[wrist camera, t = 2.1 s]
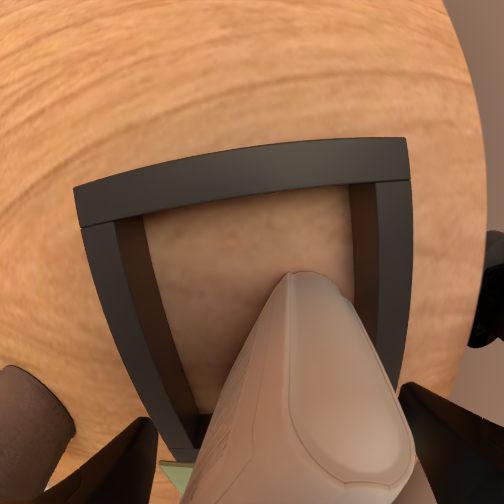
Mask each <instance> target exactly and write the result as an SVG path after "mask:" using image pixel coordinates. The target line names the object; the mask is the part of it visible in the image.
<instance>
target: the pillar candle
mask: <svg viewBox="0 0 504 504" xmlns="http://www.w3.org/2000/svg"><path fill="white" fill-rule="evenodd" d="M75 433H76V431H75V426H74V423H73V421H72V420H71V418H70V416H69V414H68V413H67V411H66V410H65V408H64V407H63V406H62V405H61V403H59V401H58V400H57V398H56V397H55V396H54V395H53V394H52V393H51V392H50V391H49V390H48V389H47V388H46V387H45V386H43V385H42V384H41V383H40V382H39V381H38V380H36V379H35V378H34V377H33V376H31V375H30V374H28V373H27V372H25V371H23V370H21V369H20V368H17V367H14V366H6V367H5V368H4V369H2V370H1V371H0V499H10V500H28V499H31V498H34V497H36V496H38V495H40V494H41V493H43V492H44V490H45V488H46V486H47V483H48V481H49V479H50V477H51V476H52V473H53V472H54V470H55V468H56V467H57V464H58V463H59V460H60V459H61V457H62V455H63V453H64V452H65V449H66V447H67V445H68V443H69V441H70V439H71V438H73V437H74V435H75Z"/></svg>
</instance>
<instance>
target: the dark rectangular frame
mask: <svg viewBox="0 0 504 504" xmlns="http://www.w3.org/2000/svg"><path fill="white" fill-rule="evenodd" d="M410 179H411V177H410V166H409V157H408V149H407V142H406V138H404V137H360V138H335V139H319V140H306V141H295V142H285V143H275V144H267V145H259V146H251V147H244V148H238V149H231V150H225V151H219V152H213V153H207V154H202V155H197V156H191V157H186V158H182V159H177V160H172V161H168V162H163V163H159V164H154V165H150V166H146V167H142V168H138V169H134V170H130V171H127V172H123V173H119V174H116V175H112V176H109V177H105V178H102V179H98V180H95V181H92V182H89V183H86V184H82V185H79V186H76V187H74V188H73V192H74V198H75V204H76V210H77V215H78V220H79V225H80V228H82V229H81V234H82V238H83V243H84V247H85V251H86V255H87V259H88V262H89V266H90V270H91V273H92V277H93V280H94V284H95V287H96V290H97V293H98V297H99V300H100V303H101V306H102V309H103V312H104V314H105V317H106V320H107V323H108V325H109V328H110V331H111V333H112V336H113V339H114V341H115V344H116V346H117V349H118V351H119V353H120V356H121V358H122V360H123V363H124V365H125V367H126V369H127V372H128V374H129V376H130V378H131V380H132V382H133V385H134V387H135V389H136V391H137V393H138V395H139V397H140V399H141V401H142V403H143V405H144V406H145V408H146V410H147V412H148V414H149V416H150V418H151V419H152V421H153V423H154V425H155V427H156V428H157V430H158V432H159V433H160V435H161V437H162V438H163V440H164V442H165V443H166V445H167V447H168V449H169V450H170V452H171V453H172V455H173V456H174V458H175V459H176V461H177V462H196V460H197V457H198V454H199V451H200V449H201V446H202V443H203V440H204V438H205V435H206V432H207V429H208V427H209V424H210V421H211V418H212V415H200V414H199V411H198V409H197V406H196V404H195V401H194V399H193V396H192V393H191V391H190V388H189V385H188V383H187V380H186V377H185V374H184V372H183V369H182V366H181V363H180V360H179V357H178V354H177V351H176V348H175V345H174V342H173V339H172V336H171V332H170V329H169V326H168V323H167V319H166V316H165V312H164V309H163V305H162V302H161V298H160V294H159V291H158V287H157V283H156V279H155V275H154V271H153V267H152V263H151V259H150V254H149V250H148V245H147V241H146V236H145V231H144V226H143V221H142V216H141V215H143V214H148V213H153V212H158V211H163V210H168V209H174V208H179V207H185V206H190V205H196V204H202V203H208V202H214V201H220V200H226V199H233V198H240V197H246V196H253V195H260V194H268V193H275V192H283V191H291V190H300V189H308V188H317V187H327V186H337V185H348V184H349V192H350V202H351V214H352V228H353V246H354V275H355V311H356V313H357V315H358V316H359V318H360V320H361V322H362V324H363V326H364V328H365V330H366V332H367V334H368V336H369V338H370V340H371V342H372V344H373V346H374V348H375V350H376V352H377V354H378V356H379V359H380V361H381V363H382V365H383V367H384V369H385V372H386V374H387V376H388V378H389V380H390V382H391V385H392V387H393V389H394V391H395V393H396V389H397V385H398V380H399V375H400V370H401V365H402V360H403V354H404V348H405V341H406V335H407V327H408V319H409V310H410V300H411V287H412V270H413V206H412V189H411V181H410Z"/></svg>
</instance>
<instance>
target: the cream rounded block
mask: <svg viewBox="0 0 504 504" xmlns="http://www.w3.org/2000/svg"><path fill="white" fill-rule="evenodd" d="M414 462H415V444H414V439H413V436H412V433H411V430H410V428H409V425H408V423H407V420H406V418H405V415H404V413H403V410H402V408H401V405H400V403H399V401H398V398H397V396H396V394H395V391H394V389H393V387H392V385H391V382H390V380H389V378H388V376H387V374H386V372H385V369H384V367H383V365H382V363H381V361H380V359H379V356H378V354H377V352H376V350H375V348H374V346H373V344H372V342H371V340H370V338H369V336H368V334H367V332H366V330H365V328H364V326H363V324H362V322H361V320H360V318H359V316H358V315H357V313H356V311H355V309H354V307H353V305H352V303H351V302H350V301H349V300H348V299H347V298H346V297H343V296H342V295H341V293H340V291H339V289H338V287H337V286H336V285H335V283H334V282H333V281H331V280H330V279H329V278H327V277H326V276H324V275H322V274H319V273H315V272H298V273H295V274H292V273H290V272H288V273H286V275H285V276H284V277H283V278H282V279H281V281H280V282H279V283H278V285H277V286H276V287H275V289H274V290H273V292H272V293H271V295H270V297H269V299H268V300H267V302H266V304H265V306H264V308H263V309H262V311H261V313H260V315H259V317H258V319H257V321H256V322H255V324H254V326H253V328H252V330H251V332H250V334H249V336H248V337H247V339H246V341H245V343H244V345H243V347H242V349H241V351H240V353H239V355H238V357H237V359H236V361H235V363H234V365H233V367H232V369H231V371H230V373H229V375H228V377H227V379H226V381H225V383H224V385H223V387H222V390H221V393H220V395H219V398H218V401H217V404H216V407H215V410H214V413H213V415H212V418H211V421H210V424H209V427H208V429H207V432H206V435H205V438H204V440H203V443H202V446H201V449H200V451H199V454H198V457H197V460H196V462H195V465H194V468H193V471H192V473H191V476H190V479H189V481H188V484H187V486H186V489H185V492H184V494H183V497H182V498H181V500H180V503H179V504H391V503H392V502H393V501H394V499H395V498H396V497H397V495H398V494H399V493H400V491H401V490H402V489H403V487H404V485H405V484H406V482H407V481H408V479H409V477H410V475H411V473H412V470H413V468H414Z"/></svg>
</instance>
